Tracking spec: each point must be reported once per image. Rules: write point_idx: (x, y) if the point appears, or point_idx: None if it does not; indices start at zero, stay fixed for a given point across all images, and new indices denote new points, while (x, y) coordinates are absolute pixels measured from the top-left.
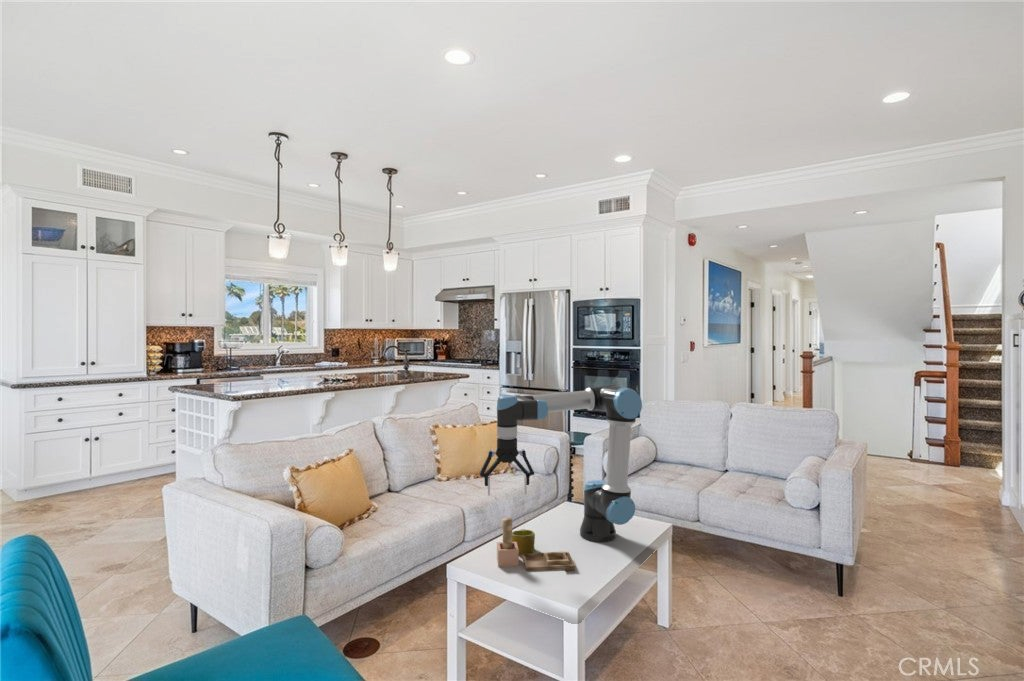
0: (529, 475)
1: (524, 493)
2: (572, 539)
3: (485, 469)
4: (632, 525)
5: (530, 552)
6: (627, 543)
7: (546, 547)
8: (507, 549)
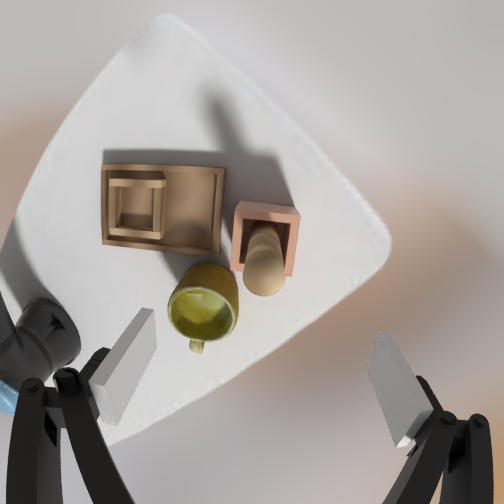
0: (55, 374)
1: (151, 313)
2: (94, 327)
3: (473, 458)
4: None
5: (193, 266)
6: (13, 279)
7: (150, 305)
8: (269, 217)
